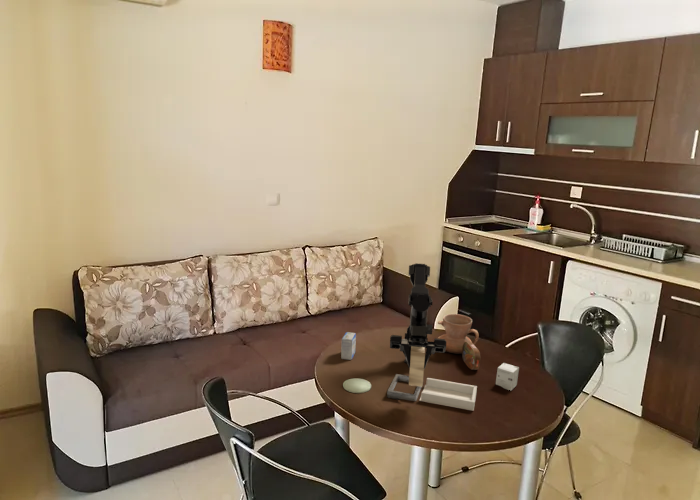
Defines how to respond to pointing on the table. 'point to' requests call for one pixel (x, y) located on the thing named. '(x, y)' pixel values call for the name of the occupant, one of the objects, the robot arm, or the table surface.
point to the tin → (471, 355)
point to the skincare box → (507, 376)
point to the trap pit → (402, 395)
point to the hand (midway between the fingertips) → (416, 368)
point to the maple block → (416, 366)
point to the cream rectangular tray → (449, 394)
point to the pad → (357, 385)
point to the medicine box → (348, 346)
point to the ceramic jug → (457, 332)
